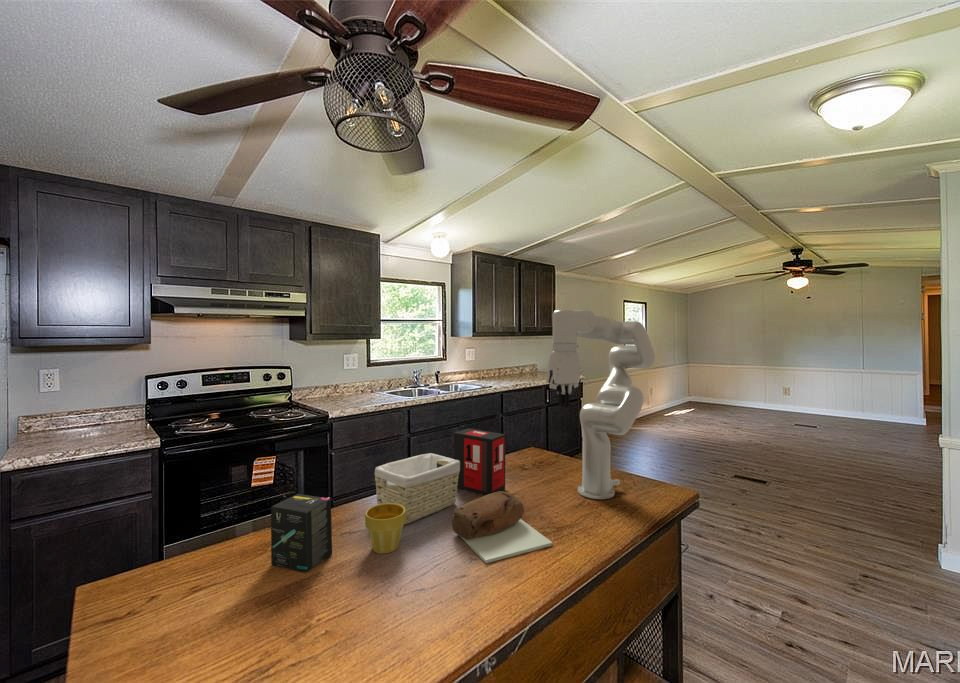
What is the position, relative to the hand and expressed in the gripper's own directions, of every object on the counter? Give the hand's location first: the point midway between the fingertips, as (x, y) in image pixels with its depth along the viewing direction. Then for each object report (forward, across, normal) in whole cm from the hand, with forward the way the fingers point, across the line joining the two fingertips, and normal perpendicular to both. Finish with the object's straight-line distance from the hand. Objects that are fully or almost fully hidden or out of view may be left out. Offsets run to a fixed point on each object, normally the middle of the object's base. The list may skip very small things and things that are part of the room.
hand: (563, 406), depth 136 cm
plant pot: (+33, +57, -1) cm, 66 cm away
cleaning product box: (+33, +16, -28) cm, 46 cm away
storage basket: (+34, +41, -21) cm, 57 cm away
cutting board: (+33, +27, +9) cm, 44 cm away
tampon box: (+33, +77, -4) cm, 84 cm away
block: (+28, +18, -1) cm, 34 cm away
